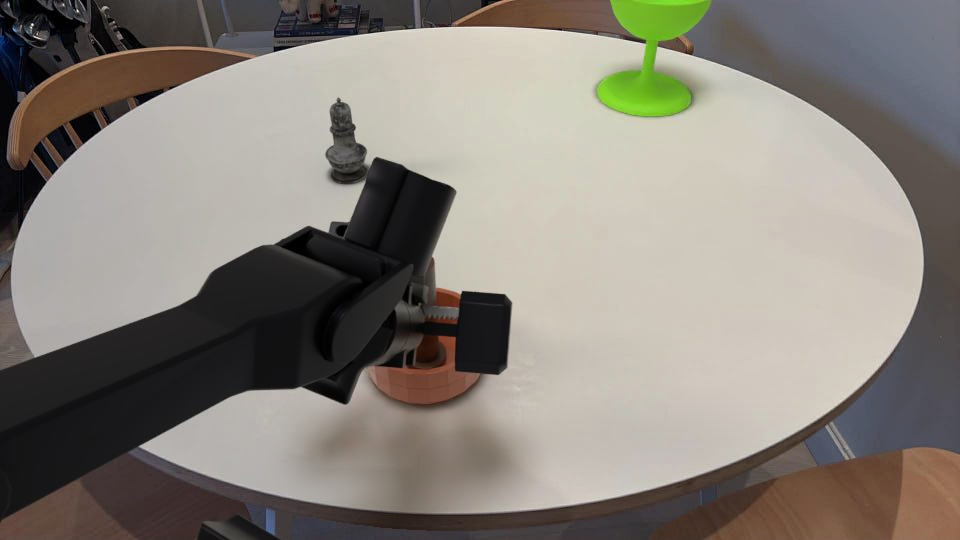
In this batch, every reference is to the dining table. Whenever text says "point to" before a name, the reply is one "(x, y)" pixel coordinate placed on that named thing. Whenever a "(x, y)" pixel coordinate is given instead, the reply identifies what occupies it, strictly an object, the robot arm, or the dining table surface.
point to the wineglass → (651, 57)
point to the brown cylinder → (430, 347)
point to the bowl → (431, 381)
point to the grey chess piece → (345, 147)
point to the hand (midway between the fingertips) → (409, 326)
